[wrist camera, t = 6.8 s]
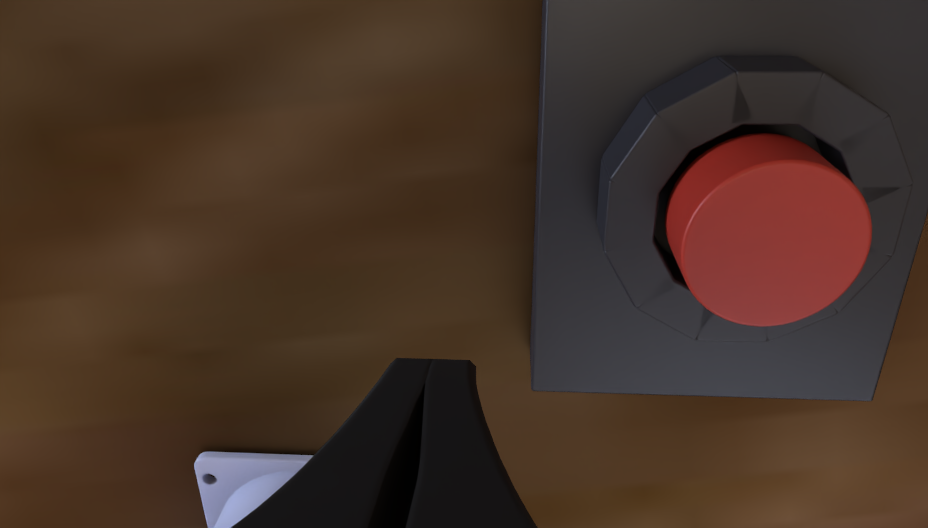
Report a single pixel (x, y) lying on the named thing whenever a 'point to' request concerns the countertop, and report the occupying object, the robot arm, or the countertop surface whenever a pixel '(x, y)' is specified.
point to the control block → (677, 145)
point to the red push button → (766, 230)
